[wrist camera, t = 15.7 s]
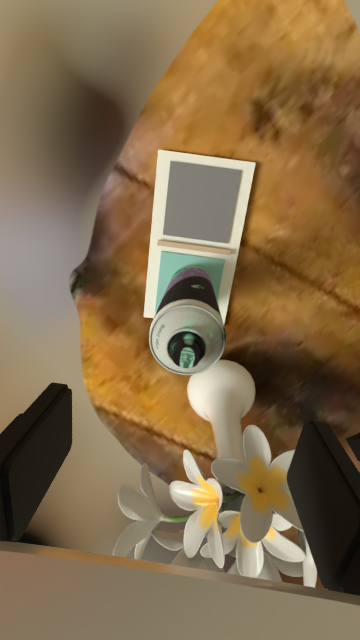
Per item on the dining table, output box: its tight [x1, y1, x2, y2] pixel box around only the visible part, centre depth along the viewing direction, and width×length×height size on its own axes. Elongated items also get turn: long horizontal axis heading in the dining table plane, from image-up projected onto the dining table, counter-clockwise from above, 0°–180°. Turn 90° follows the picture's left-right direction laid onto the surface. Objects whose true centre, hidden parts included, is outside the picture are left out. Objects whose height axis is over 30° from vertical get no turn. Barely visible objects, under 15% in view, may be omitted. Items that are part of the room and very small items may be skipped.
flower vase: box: [112, 360, 317, 588], centre depth 30 cm, size 13×18×25 cm
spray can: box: [149, 265, 226, 375], centre depth 26 cm, size 6×6×20 cm
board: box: [144, 150, 256, 324], centre depth 34 cm, size 11×20×2 cm, turn 173°
